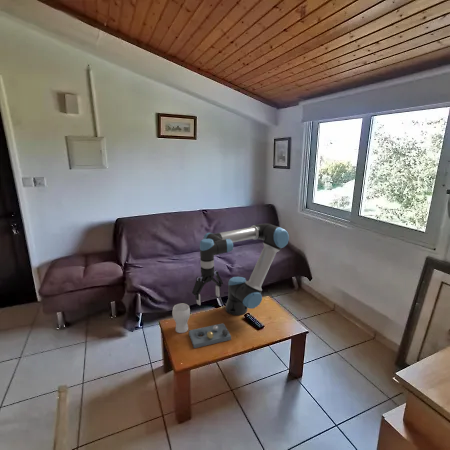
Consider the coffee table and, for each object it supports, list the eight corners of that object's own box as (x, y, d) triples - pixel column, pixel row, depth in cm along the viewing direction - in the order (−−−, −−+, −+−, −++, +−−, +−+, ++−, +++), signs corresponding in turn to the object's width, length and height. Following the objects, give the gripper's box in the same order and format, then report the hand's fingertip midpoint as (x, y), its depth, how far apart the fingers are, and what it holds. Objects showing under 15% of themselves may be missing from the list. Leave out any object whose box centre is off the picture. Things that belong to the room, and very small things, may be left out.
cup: (187, 335, 164) (186, 313, 160) (170, 333, 166) (169, 311, 162) (192, 325, 174) (192, 303, 170) (176, 322, 176) (175, 301, 172)
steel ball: (217, 328, 167) (217, 323, 166) (219, 331, 164) (219, 326, 163) (212, 329, 166) (212, 324, 165) (213, 333, 163) (213, 328, 162)
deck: (223, 326, 173) (223, 323, 172) (231, 339, 161) (231, 336, 161) (188, 334, 166) (188, 330, 165) (194, 348, 154) (193, 344, 153)
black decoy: (226, 332, 164) (226, 327, 163) (228, 336, 160) (228, 331, 160) (221, 333, 162) (221, 328, 162) (223, 337, 159) (223, 332, 158)
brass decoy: (212, 335, 161) (212, 329, 160) (214, 339, 158) (214, 333, 156) (205, 336, 160) (205, 330, 159) (207, 341, 156) (207, 335, 155)
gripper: (220, 258, 166) (221, 290, 171) (184, 270, 150) (186, 304, 156) (228, 262, 160) (229, 295, 166) (192, 275, 145) (193, 310, 151)
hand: (208, 300), depth 161 cm, fingers open, 13 cm apart
